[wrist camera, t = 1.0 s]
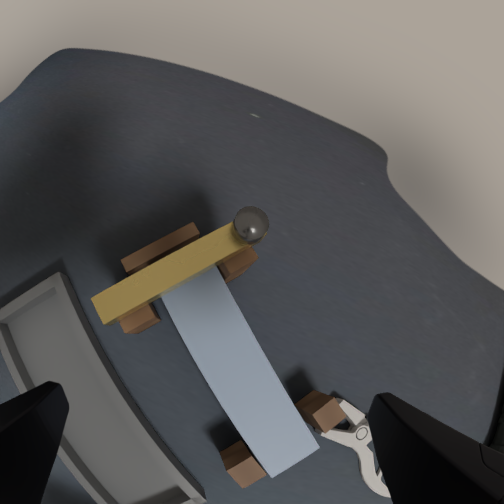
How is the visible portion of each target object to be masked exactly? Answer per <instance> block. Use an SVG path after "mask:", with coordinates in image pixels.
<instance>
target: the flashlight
mask: <svg viewBox="0 0 504 504" xmlns="http://www.w3.org/2000/svg"><path fill="white" fill-rule="evenodd" d="M501 411H502V414H501V417H500V418H499V421H498V423H499V424H498V427H497V430H496V434H495V437H494V440H493V443H491V444H490V446H489V448H491V449H494V450H496V451H498V452H500V453H502V454H504V404H503V407H502V410H501Z"/></svg>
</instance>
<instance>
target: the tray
mask: <svg viewBox="0 0 504 504" xmlns="http://www.w3.org/2000/svg"><path fill="white" fill-rule="evenodd" d="M0 350H1V353H2V355H3V357H4V360H5V362H6V364H7V367H8V369H9V371H10V373H11V375H12V378H13V380H14V382H15V384H16V386H17V388H18V390H19V392H20V394H23V393H25V392H27V391H29V390H31V389H33V388H35V387H37V386H39V385H41V384H43V383H45V382H47V381H53V382H57V383H60V384H61V385H62V387H63V390H64V392H65V395H66V397H67V400H68V402H69V413H68V416H67V420H66V424H65V427H64V431H63V435H62V439H61V443H60V446H59V450H58V453H57V454H58V456H59V457H60V458H61V460H62V461H63V462H64V464H65V465H66V466H67V468H68V469H69V470H70V472H71V473H72V474H73V475H74V477H75V478H76V479H77V480H78V482H79V483H80V484H81V485H82V486H83V488H84V489H85V490H86V491H87V492H88V493H89V494H90V496H91V497H92V498H93V499H94V500H95V501H96V502H97V503H98V504H202V503H204V502H206V496H205V492H204V489H203V488H202V487H201V486H200V485H199V484H198V482H197V481H196V480H195V479H194V478H193V477H192V476H191V475H190V474H189V472H188V471H187V470H186V469H185V468H184V467H183V466H182V464H181V463H180V462H179V461H178V460H177V458H176V457H175V456H174V455H173V454H172V452H171V451H170V450H169V449H168V447H167V446H166V445H165V444H164V442H163V441H162V440H161V438H160V437H159V436H158V434H157V433H156V432H155V430H154V429H153V428H152V426H151V425H150V424H149V422H148V421H147V419H146V418H145V417H144V415H143V414H142V412H141V411H140V409H139V408H138V407H137V405H136V404H135V402H134V401H133V399H132V398H131V396H130V394H129V393H128V391H127V390H126V388H125V387H124V385H123V383H122V382H121V380H120V379H119V377H118V375H117V374H116V372H115V370H114V369H113V367H112V365H111V363H110V362H109V360H108V358H107V356H106V355H105V353H104V351H103V349H102V347H101V345H100V344H99V342H98V340H97V338H96V336H95V334H94V332H93V330H92V328H91V326H90V324H89V322H88V320H87V318H86V316H85V314H84V312H83V310H82V307H81V305H80V303H79V301H78V299H77V296H76V294H75V292H74V289H73V287H72V285H71V282H70V280H69V278H68V276H66V275H64V274H62V273H61V272H57V273H55V274H54V275H52V276H50V277H49V278H47V279H46V280H44V281H42V282H41V283H39V284H38V285H36V286H34V287H33V288H31V289H30V290H28V291H27V292H25V293H24V294H22V295H21V296H19V297H18V298H16V299H15V300H13V301H12V302H10V303H9V304H7V305H6V306H4V307H3V308H1V309H0Z"/></svg>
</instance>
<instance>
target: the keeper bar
mask: <svg viewBox="0 0 504 504" xmlns="http://www.w3.org/2000/svg"><path fill="white" fill-rule="evenodd" d="M268 228H269V220H268V217H267V215H266V214H265V213H264V212H263V211H262V210H261V209H259V208H257V207H253V206H248V207H244V208H242V209H241V210H240V211H239V212H238V213H237V215H236V217H235V219H234V221H233V222H231V223H229V224H227V225H225V226H223V227H221V228H219V229H217V230H215V231H213V232H211V233H210V234H208V235H206V236H204V237H202V238H200V239H198V240H196V241H194V242H192V243H190V244H189V245H187V246H185V247H183V248H181V249H179V250H177V251H175V252H173V253H172V254H170V255H168V256H166V257H164V258H162V259H160V260H159V261H157V262H155V263H153V264H151V265H149V266H148V267H146V268H144V269H142V270H140V271H138V272H137V273H135V274H133V275H131V276H129V277H128V278H126V279H124V280H122V281H120V282H119V283H117V284H115V285H113V286H111V287H110V288H108V289H106V290H104V291H103V292H101V293H99V294H97V295H96V296H94V297H92V298H91V300H92V302H93V304H94V306H95V308H96V310H97V312H98V314H99V316H100V318H101V320H102V322H103V324H104V325H112V324H114V323H116V322H118V321H119V320H121V319H123V318H125V317H126V316H128V315H130V314H132V313H134V312H135V311H137V310H139V309H141V308H142V307H144V306H146V305H148V304H150V303H151V302H153V301H155V300H157V299H158V298H160V297H162V296H164V295H166V294H167V293H169V292H171V291H173V290H175V289H176V288H178V287H180V286H182V285H184V284H185V283H187V282H189V281H191V280H192V279H194V278H196V277H198V276H200V275H201V274H203V273H205V272H207V271H209V270H210V269H212V268H214V267H216V266H218V265H219V264H221V263H223V262H225V261H227V260H228V259H230V258H232V257H234V256H236V255H237V254H239V253H241V252H243V251H245V250H246V249H248V248H250V247H252V246H254V245H255V244H257V243H259V242H260V241H261V240H262V239H263V238H264V237H265V236H266V234H267V233H266V232H267V231H268Z"/></svg>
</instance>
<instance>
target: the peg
mask: <svg viewBox="0 0 504 504" xmlns="http://www.w3.org/2000/svg"><path fill="white" fill-rule="evenodd" d="M161 298H162V300H163V302H164V304H165V306H166V308H167V310H168V312H169V314H170V316H171V318H172V320H173V322H174V324H175V325H176V327H177V329H178V331H179V333H180V335H181V337H182V339H183V340H184V342H185V344H186V346H187V348H188V350H189V351H190V353H191V355H192V357H193V359H194V360H195V362H196V364H197V366H198V367H199V369H200V371H201V372H202V374H203V376H204V378H205V379H206V381H207V383H208V384H209V386H210V388H211V389H212V391H213V393H214V394H215V396H216V397H217V399H218V401H219V402H220V404H221V405H222V407H223V409H224V410H225V412H226V413H227V415H228V416H229V418H230V419H231V421H232V422H233V424H234V425H235V427H236V429H237V430H238V431H239V433H240V434H241V436H242V437H243V439H244V440H245V442H246V443H247V445H248V446H249V447H250V449H251V450H252V452H253V453H254V455H255V456H256V457H257V459H258V460H259V461H260V463H261V464H262V466H263V467H264V468H265V470H266V471H267V472H268V474H269V475H270V476H271V478H273V477H274V476H276V475H278V474H279V473H281V472H283V471H284V470H286V469H288V468H289V467H291V466H293V465H294V464H296V463H297V462H299V461H300V460H302V459H303V458H305V457H307V456H308V455H310V454H311V453H312V452H314V451H315V450H317V449H318V448H320V447H319V445H318V444H317V442H316V440H315V439H314V437H313V436H312V434H311V432H310V431H309V429H308V427H307V426H306V424H305V422H304V421H303V419H302V417H301V416H300V414H299V412H298V411H297V409H296V407H295V406H294V404H293V402H292V401H291V399H290V397H289V396H288V394H287V392H286V391H285V389H284V387H283V385H282V384H281V382H280V380H279V379H278V377H277V375H276V373H275V372H274V370H273V368H272V366H271V365H270V363H269V361H268V359H267V358H266V356H265V354H264V352H263V351H262V349H261V347H260V345H259V344H258V342H257V340H256V338H255V336H254V335H253V333H252V331H251V329H250V327H249V326H248V324H247V322H246V320H245V318H244V317H243V315H242V313H241V311H240V309H239V307H238V306H237V304H236V302H235V300H234V298H233V296H232V294H231V293H230V291H229V289H228V287H227V285H226V283H225V281H224V280H223V278H222V276H221V274H220V272H219V270H218V268H217V266H216V267H214V268H212V269H210V270H209V271H207V272H205V273H203V274H201V275H200V276H198V277H196V278H194V279H192V280H191V281H189V282H187V283H185V284H184V285H182V286H180V287H178V288H176V289H175V290H173V291H171V292H169V293H167V294H166V295H164V296H162V297H161Z"/></svg>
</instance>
